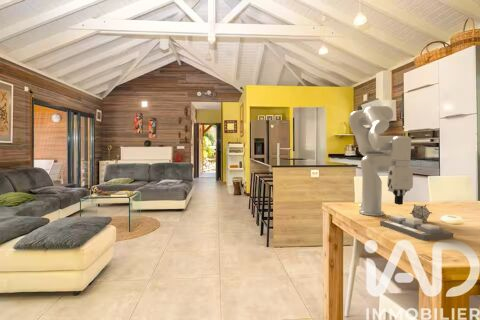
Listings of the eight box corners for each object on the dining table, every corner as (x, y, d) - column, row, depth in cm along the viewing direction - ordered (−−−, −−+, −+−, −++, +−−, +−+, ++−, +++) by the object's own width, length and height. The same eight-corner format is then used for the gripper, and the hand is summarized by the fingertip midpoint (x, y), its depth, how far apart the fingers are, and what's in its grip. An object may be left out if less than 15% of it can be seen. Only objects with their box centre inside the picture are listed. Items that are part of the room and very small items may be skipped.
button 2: (420, 229, 119) (420, 224, 119) (429, 228, 120) (429, 223, 120) (430, 232, 114) (430, 227, 114) (439, 231, 115) (439, 226, 115)
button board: (380, 224, 135) (380, 217, 135) (405, 223, 138) (406, 215, 138) (423, 240, 112) (423, 231, 112) (453, 238, 115) (453, 229, 115)
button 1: (392, 220, 134) (392, 215, 134) (400, 219, 135) (400, 215, 135) (399, 222, 130) (399, 218, 130) (407, 222, 131) (407, 217, 131)
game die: (422, 228, 144) (433, 211, 145) (426, 225, 136) (438, 208, 137) (404, 217, 148) (414, 201, 148) (407, 214, 140) (418, 197, 141)
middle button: (405, 222, 126) (405, 217, 126) (414, 221, 127) (414, 217, 127) (413, 225, 122) (413, 220, 122) (422, 224, 123) (422, 219, 123)
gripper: (392, 165, 127) (390, 206, 128) (421, 164, 130) (419, 205, 132) (380, 163, 134) (378, 203, 136) (408, 162, 137) (406, 201, 139)
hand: (398, 203), depth 134 cm, fingers closed
